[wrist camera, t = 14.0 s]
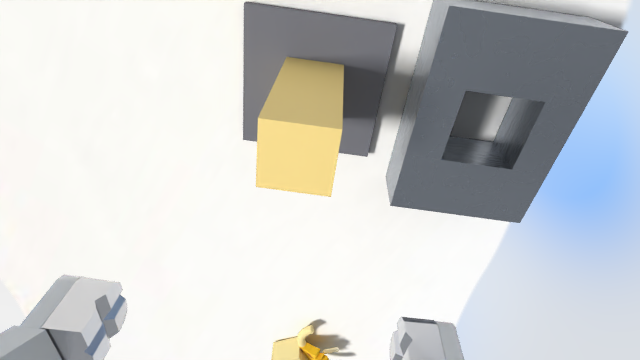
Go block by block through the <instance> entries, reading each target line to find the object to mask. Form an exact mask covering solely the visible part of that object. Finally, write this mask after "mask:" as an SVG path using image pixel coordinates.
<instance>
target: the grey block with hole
mask: <svg viewBox="0 0 640 360" xmlns="http://www.w3.org/2000/svg"><path fill="white" fill-rule="evenodd" d="M627 33H628V31H625V30H623V29H620V28H617V27H615V26H612V25H609V24H607V23H604V22H601V21H598V20H596V19H593V18H590V17H585V16H578V15H571V14H564V13H557V12H551V11H544V10H537V9H530V8H523V7H516V6H509V5H503V4H496V3H489V2H482V1H475V0H433V3H432V7H431V11H430V14H429V18H428V22H427V26H426V29H425V33H424V37H423V40H422V44H421V48H420V51H419V55H418V59H417V63H416V66H415V70H414V74H413V77H412V81H411V85H410V89H409V92H408V96H407V100H406V103H405V107H404V111H403V114H402V118H401V122H400V126H399V129H398V133H397V137H396V140H395V144H394V148H393V152H392V155H391V159H390V163H389V166H388V170H387V174H386V181H387V187H388V194H389V200H390V206H397V207H404V208H412V209H419V210H427V211H434V212H441V213H449V214H456V215H464V216H471V217H479V218H486V219H493V220H501V221H508V222H517V223H520V222H521V220H522V218H523V217H524V215H525V213H526V211H527V209H528V208H529V206H530V204H531V202H532V201H533V199H534V197H535V195H536V194H537V192H538V190H539V188H540V187H541V185H542V183H543V181H544V179H545V178H546V176H547V174H548V173H549V171H550V169H551V167H552V165H553V163H554V162H555V160H556V158H557V157H558V155H559V153H560V151H561V150H562V148H563V146H564V144H565V143H566V141H567V139H568V137H569V135H570V134H571V132H572V130H573V128H574V127H575V125H576V123H577V121H578V120H579V118H580V116H581V114H582V113H583V111H584V109H585V107H586V106H587V104H588V102H589V100H590V98H591V97H592V95H593V93H594V91H595V90H596V88H597V86H598V84H599V83H600V81H601V79H602V77H603V76H604V74H605V72H606V70H607V69H608V67H609V65H610V63H611V62H612V60H613V58H614V56H615V55H616V53H617V51H618V49H619V47H620V46H621V44H622V42H623V40H624V38H625V37H626V35H627ZM466 91H472V92H479V93H486V94H493V95H500V96H507V97H513V98H512V101H511V103H510V105H509V107H508V110H507V112H506V114H505V117H504V119H503V121H502V123H501V126H500V128H499V130H498V132H497V135H496V137H495V139H494V141H493V142H490V141H483V140H475V139H468V138H461V137H454V136H450V134H451V131H452V128H453V125H454V122H455V120H456V117H457V114H458V111H459V109H460V106H461V103H462V100H463V98H464V95H465V92H466Z"/></svg>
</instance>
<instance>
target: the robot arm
mask: <svg viewBox="0 0 640 360" xmlns="http://www.w3.org/2000/svg"><path fill="white" fill-rule="evenodd" d="M122 290H123V289H122V286H121V284H120V282H115V281H107V280H100V279H92V278H85V277H79V276H71V275H63V276H61V277H60V278H58V279H57V280H56V281H55V283H54V284H53V285H52V286H51V288H50V289H49V290H48V291H47V293H46V294H45V295H44V296H43V298H42V299H41V300H40V301H39V303H38V304H37V305H36V306H35V308H34V309H33V310H32V311H31V312H30V314H29V315H28V316H27V317H26V319H25V320H24V321H23V323H22V324H21V325H20V326H12V327H11V328H9V329H7V330H6V331H4V332H2V333H0V360H104V358H105V356H106V354H107V353H108V351H109V349H110V347H111V345H110V339H109V338H111V337H112V336H114V335H115V334H116V333H118V332H119V331H120V329H121V327H122V325H123V323H124V320H125V317H126V313H127V302H126V299H125V298H124V297H122V296H121V295H120V293H121V292H122ZM397 327H398V330H397V331H395V332H393V335H392V338H391V343H390V360H464V357H463V353H462V350H461V346H460V342H459V339H458V335H457V331H456V327H455V326H454V325H453V324H452V323H448V322H438V321H434V320H425V319H416V318H407V317H401V318H400V319H399V321H398V323H397Z"/></svg>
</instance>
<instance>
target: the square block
mask: <svg viewBox="0 0 640 360" xmlns="http://www.w3.org/2000/svg"><path fill="white" fill-rule="evenodd" d="M343 83H344V65H341V64H334V63H327V62H320V61H313V60H306V59H299V58H292V57H286V59H285V61H284V64H283V66H282V68H281V70H280V72H279V74H278V76H277V78H276V81H275V83H274V85H273V87H272V89H271V91H270V93H269V95H268V98H267V100H266V102H265V104H264V106H263V108H262V110H261V112H260V115H259V117H258V132H257V168H256V187H261V188H268V189H276V190H283V191H291V192H298V193H306V194H313V195H321V196H328V197H331V193H332V187H333V181H334V175H335V170H336V164H337V158H338V152H339V146H340V141H341V135H342V126H343Z"/></svg>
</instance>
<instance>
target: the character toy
mask: <svg viewBox="0 0 640 360" xmlns="http://www.w3.org/2000/svg"><path fill="white" fill-rule="evenodd" d="M313 333H314V328H313V326H312V325H310V326H307V327H305V328H303V329H302V330H301V331H300V332H299V334H298V337H294V338H290V339H286V340H281V341H277V342H273V351H272V359H271V360H329V358H327V356H326V355H324V354H327V353H333V352H338V351H339V348H338V347H334V348H329V349H324V350H323V353H320V349H319V348H317V347H314V346H313V345H311V344H309V343H307V342H306V341H305V337H306V336H307V335H309V334H313Z"/></svg>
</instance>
